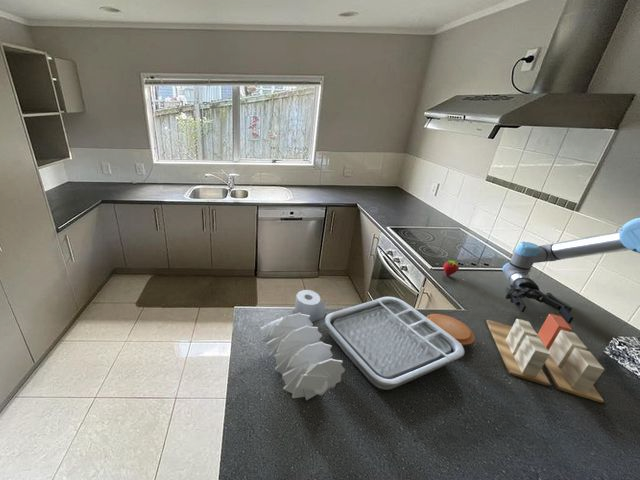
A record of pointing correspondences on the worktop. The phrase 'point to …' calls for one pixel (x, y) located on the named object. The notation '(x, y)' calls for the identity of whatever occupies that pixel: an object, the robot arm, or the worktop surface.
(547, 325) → the red rectangular block
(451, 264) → the strawberry
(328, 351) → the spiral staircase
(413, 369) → the dish rack
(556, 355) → the cubes on wooden plank
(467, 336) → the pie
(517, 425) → the worktop surface
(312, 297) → the toilet tissue
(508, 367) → the wooden base with cubes
